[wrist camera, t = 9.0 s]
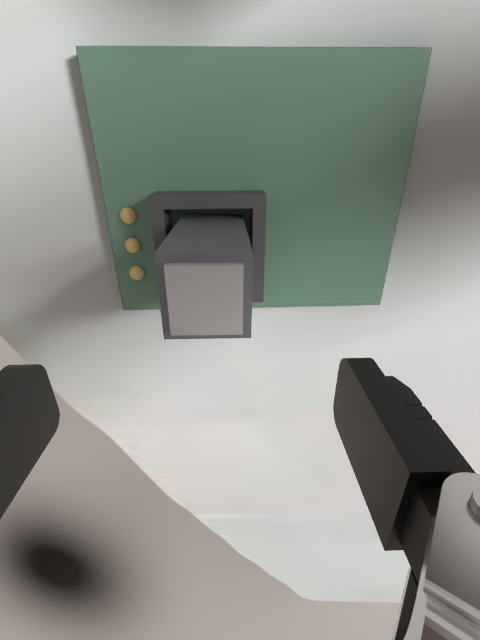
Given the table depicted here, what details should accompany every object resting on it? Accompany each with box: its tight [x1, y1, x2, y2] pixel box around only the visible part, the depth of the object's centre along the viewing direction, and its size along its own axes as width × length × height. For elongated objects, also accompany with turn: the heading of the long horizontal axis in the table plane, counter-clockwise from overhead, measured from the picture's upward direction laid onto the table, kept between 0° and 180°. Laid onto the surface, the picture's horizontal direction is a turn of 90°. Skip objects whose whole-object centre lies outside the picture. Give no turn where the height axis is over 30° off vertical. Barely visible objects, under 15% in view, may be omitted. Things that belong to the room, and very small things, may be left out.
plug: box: [154, 214, 253, 339], centre depth 19 cm, size 4×4×10 cm
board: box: [76, 46, 432, 310], centre depth 21 cm, size 20×16×4 cm
